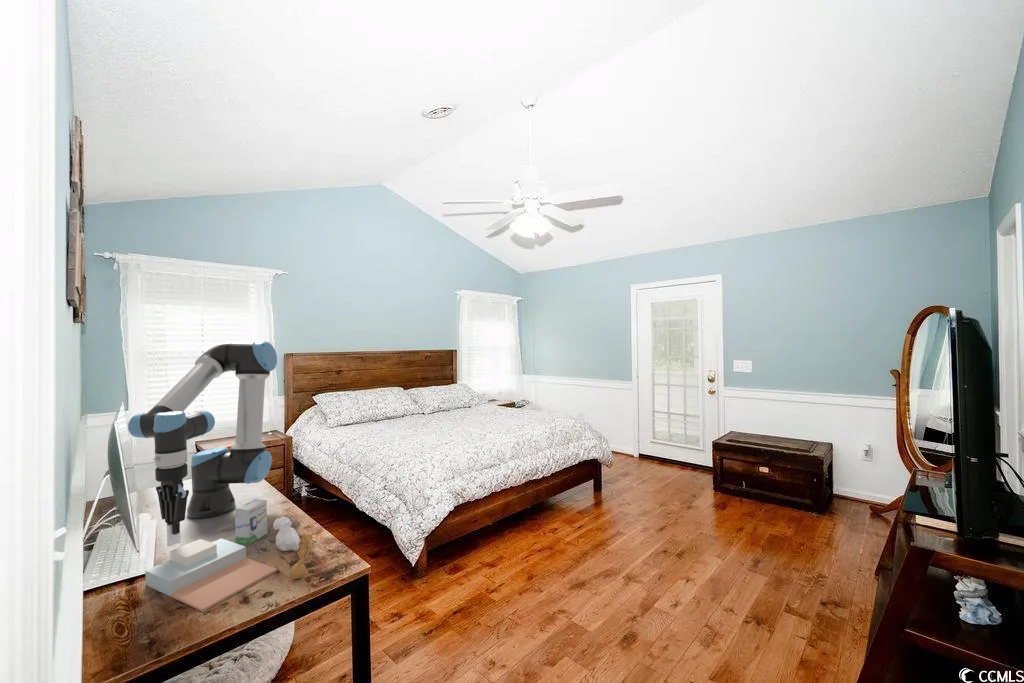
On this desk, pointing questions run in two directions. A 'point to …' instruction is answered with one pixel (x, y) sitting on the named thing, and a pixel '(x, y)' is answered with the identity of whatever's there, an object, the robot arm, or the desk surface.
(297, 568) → the figurine
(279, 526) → the white tied bag
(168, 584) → the plate
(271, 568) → the mat
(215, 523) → the desk surface
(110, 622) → the desk surface
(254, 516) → the ink box
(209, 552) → the coaster
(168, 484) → the robot arm
